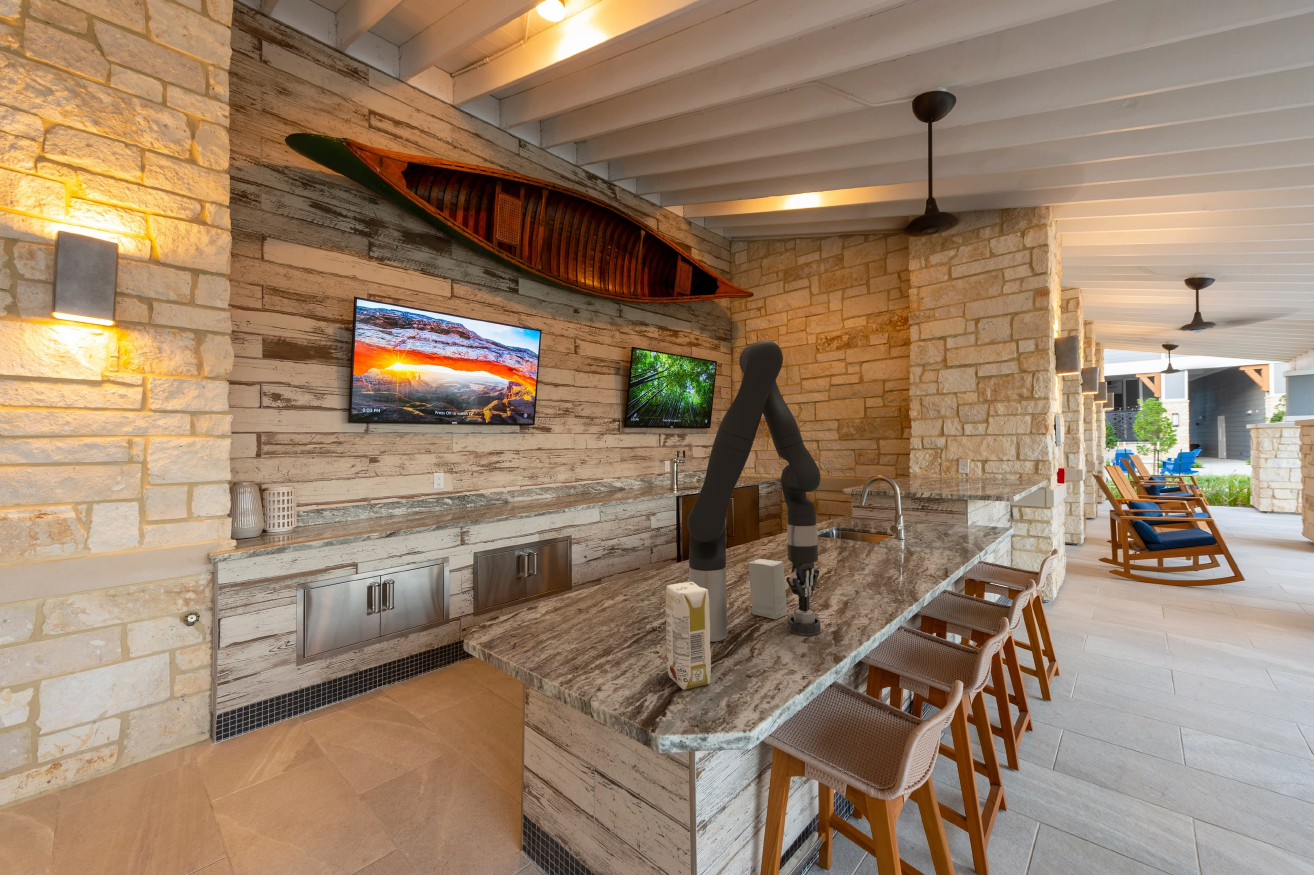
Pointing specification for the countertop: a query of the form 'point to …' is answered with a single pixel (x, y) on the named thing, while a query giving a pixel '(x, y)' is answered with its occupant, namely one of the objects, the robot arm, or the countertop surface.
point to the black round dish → (804, 627)
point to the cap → (804, 617)
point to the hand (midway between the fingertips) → (804, 610)
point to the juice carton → (688, 634)
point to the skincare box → (767, 588)
